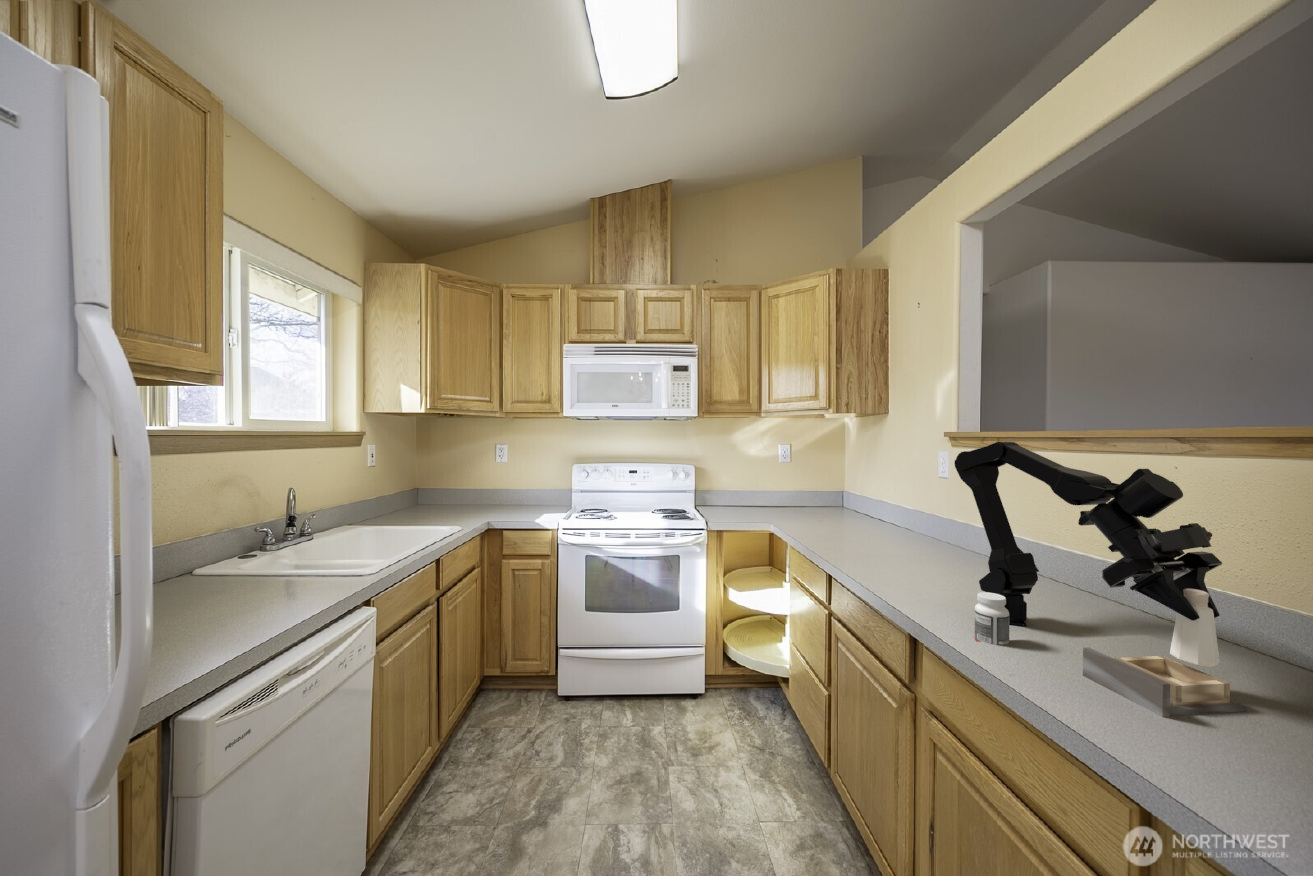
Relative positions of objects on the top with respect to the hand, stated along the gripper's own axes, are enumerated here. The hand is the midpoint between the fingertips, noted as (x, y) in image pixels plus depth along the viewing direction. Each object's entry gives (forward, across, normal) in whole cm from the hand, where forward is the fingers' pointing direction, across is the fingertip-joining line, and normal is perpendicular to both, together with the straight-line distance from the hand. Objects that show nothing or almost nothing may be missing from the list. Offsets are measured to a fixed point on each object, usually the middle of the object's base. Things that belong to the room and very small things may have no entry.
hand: (1206, 618), depth 76 cm
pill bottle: (-7, -15, +27) cm, 31 cm away
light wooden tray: (+7, -5, +10) cm, 13 cm away
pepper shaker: (+4, 0, +6) cm, 7 cm away
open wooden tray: (+7, -7, +12) cm, 15 cm away
